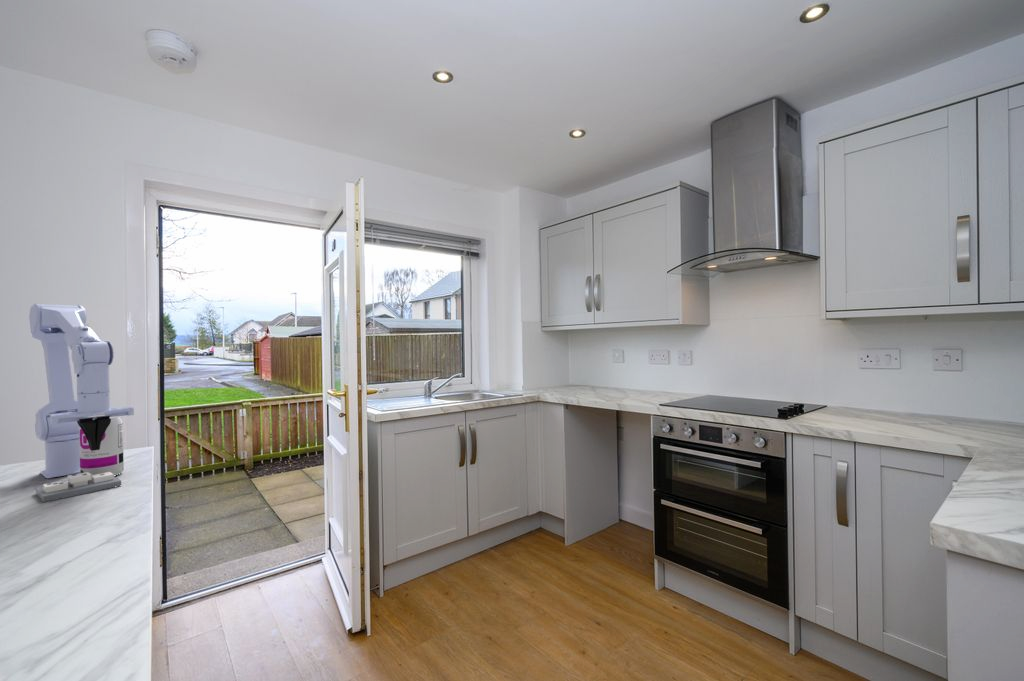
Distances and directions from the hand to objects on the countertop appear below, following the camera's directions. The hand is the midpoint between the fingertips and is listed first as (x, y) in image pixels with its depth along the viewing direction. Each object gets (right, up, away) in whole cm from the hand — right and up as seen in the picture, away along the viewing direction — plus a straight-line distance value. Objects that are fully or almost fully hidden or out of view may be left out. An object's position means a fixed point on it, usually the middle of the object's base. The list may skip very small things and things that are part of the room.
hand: (94, 449), depth 109 cm
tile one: (+1, -8, 0) cm, 9 cm away
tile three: (-3, -9, -6) cm, 11 cm away
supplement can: (-5, -9, +8) cm, 13 cm away
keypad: (-1, -9, -3) cm, 9 cm away
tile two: (-1, -9, -3) cm, 9 cm away
